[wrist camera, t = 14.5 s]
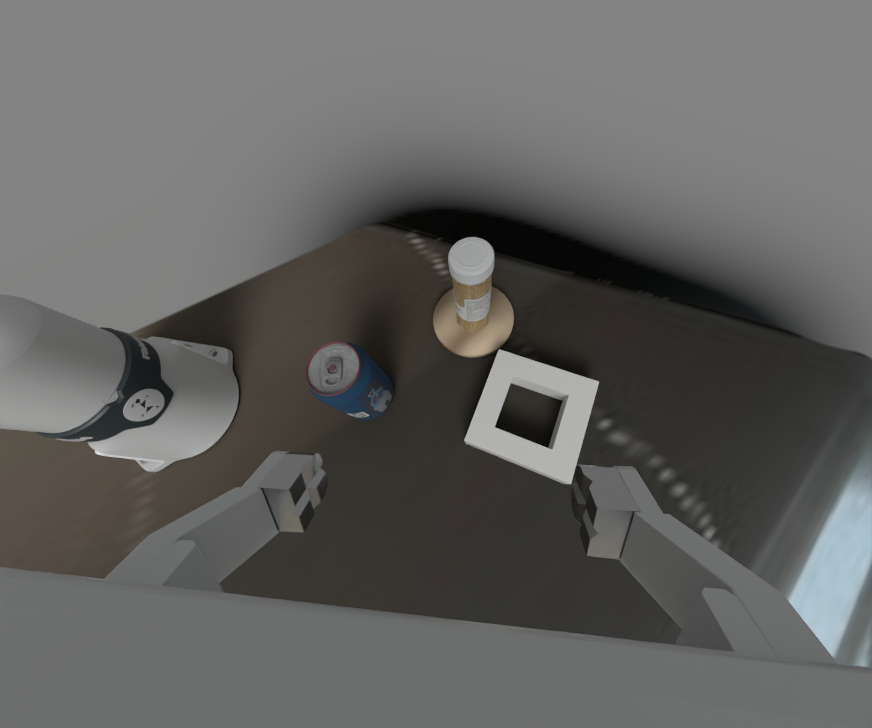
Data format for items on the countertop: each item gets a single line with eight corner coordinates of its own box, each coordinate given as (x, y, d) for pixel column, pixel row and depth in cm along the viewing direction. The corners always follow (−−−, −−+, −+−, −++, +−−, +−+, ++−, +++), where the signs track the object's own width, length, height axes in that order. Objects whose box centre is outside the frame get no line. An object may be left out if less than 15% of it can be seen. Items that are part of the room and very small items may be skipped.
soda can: (347, 374, 44) (302, 339, 33) (395, 369, 43) (366, 332, 32) (345, 423, 42) (295, 404, 30) (396, 419, 41) (364, 398, 30)
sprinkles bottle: (454, 307, 44) (444, 239, 31) (486, 301, 44) (490, 230, 31) (459, 336, 42) (450, 277, 30) (492, 331, 42) (499, 269, 29)
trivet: (422, 343, 44) (420, 339, 43) (451, 279, 47) (450, 274, 46) (497, 368, 41) (497, 365, 40) (523, 299, 44) (524, 295, 43)
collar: (465, 443, 39) (464, 440, 36) (497, 357, 42) (498, 349, 39) (563, 483, 36) (570, 484, 33) (590, 388, 39) (599, 381, 36)
